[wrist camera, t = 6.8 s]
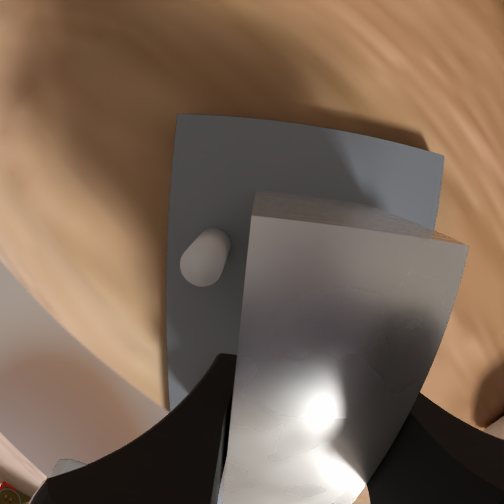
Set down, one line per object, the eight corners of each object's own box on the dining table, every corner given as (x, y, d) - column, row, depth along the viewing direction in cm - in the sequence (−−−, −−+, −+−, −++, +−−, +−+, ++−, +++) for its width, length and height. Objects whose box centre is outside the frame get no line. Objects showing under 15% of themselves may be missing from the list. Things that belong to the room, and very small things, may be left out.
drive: (368, 204, 10) (469, 245, 5) (316, 419, 13) (335, 523, 7) (255, 189, 10) (252, 215, 5) (232, 414, 13) (220, 523, 7)
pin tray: (431, 155, 11) (483, 156, 7) (349, 446, 15) (361, 491, 12) (184, 118, 11) (154, 99, 7) (177, 436, 15) (164, 482, 12)
